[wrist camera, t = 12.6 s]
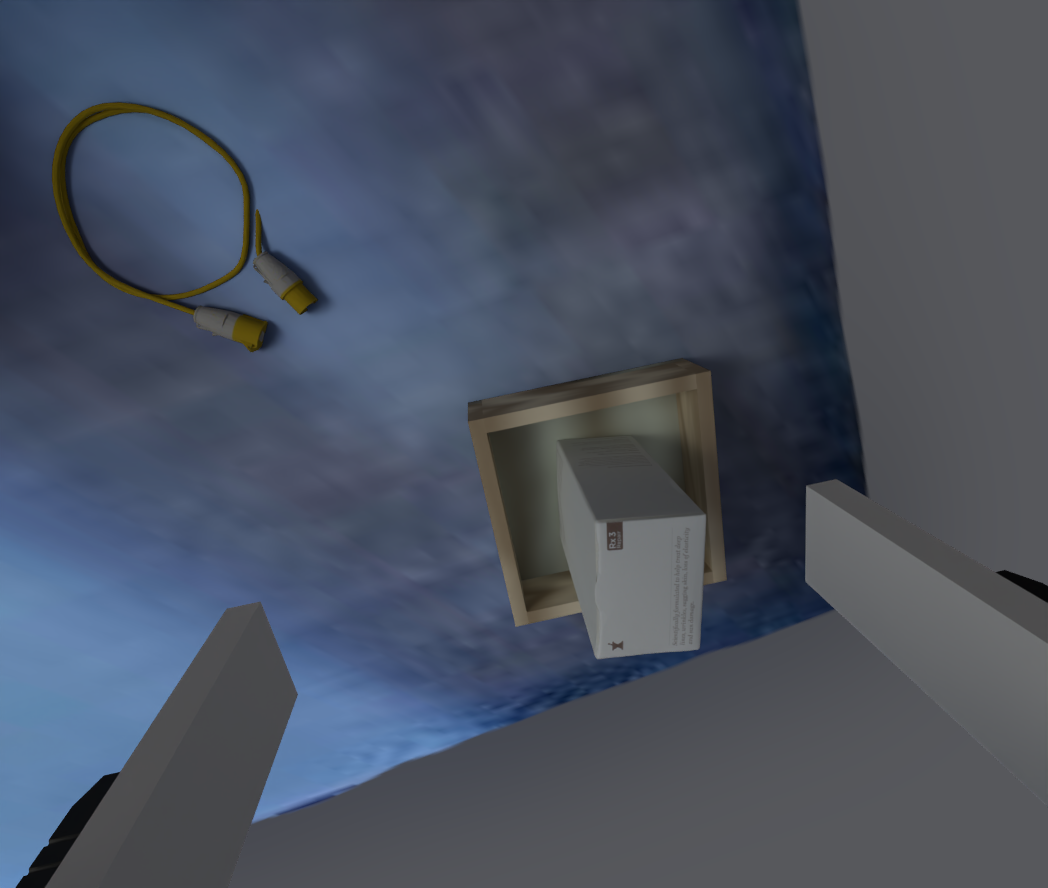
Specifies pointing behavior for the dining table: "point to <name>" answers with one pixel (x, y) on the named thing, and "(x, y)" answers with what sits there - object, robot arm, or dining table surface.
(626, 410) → the birch box
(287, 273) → the extension cord
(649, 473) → the skincare box
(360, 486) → the dining table surface
